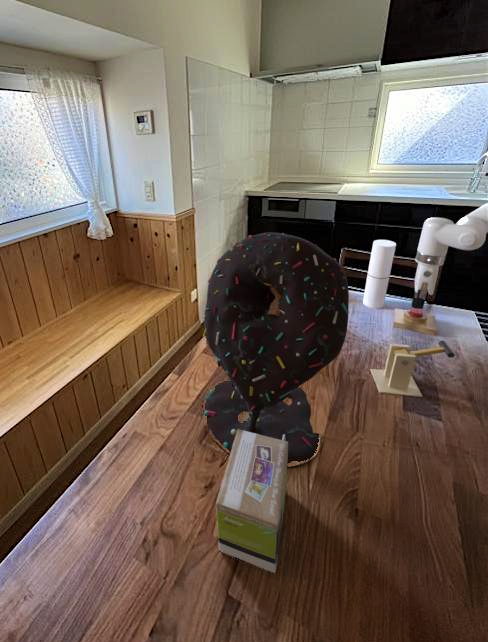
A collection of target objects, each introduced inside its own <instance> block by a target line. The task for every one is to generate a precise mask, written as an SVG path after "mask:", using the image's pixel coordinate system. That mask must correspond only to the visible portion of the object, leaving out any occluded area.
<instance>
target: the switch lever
mask: <svg viewBox="0 0 488 642" xmlns="http://www.w3.org/2000/svg"><path fill="white" fill-rule="evenodd" d="M438 345H439V346H437V347H430V348H425V349H424V348H423V349H418V350H417V349H416V350H410V351H409V352H407V351H406V349H401V350H394V355H395V354H396V353H398V354H411V355H415V356H416V358H417V357H423V356H428V355H435V354H442V353H445V355H446V356H447V357H448V358H454V357H455V353H454V351H452V349H451V348H450V347H449V345H448V344H447V342H445V340H440V341H438Z"/></svg>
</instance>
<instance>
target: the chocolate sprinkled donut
mask: <svg viewBox="0 0 488 642" xmlns="http://www.w3.org/2000/svg"><path fill="white" fill-rule="evenodd" d="M349 291H350V290H349V283H348V278H347V275H346V272H345V271H344V269H343V267H342V265H341V264H340V263H339V262H338V261H337V258H335V257H334V258H333V257H331V256H330V255H329V254H328V253H326V251H324V250H323V249H321V248H320V247H319V246H318V245H317V244H316V243H313V242H311V241H309V240H307V239H305V238H302V237H299V236H295V235H291V234H288V233H284V232H282V233H281V232H263V233H259V234H255V235H252V234H249V235H248V236H247V237H245V238H243V239H241V240H240V241H238V242H237V241H236V242H235V244H234V245H232V246H229V248H228V250H226V251H225V252H223V254H222V255H221V256H220V257H219V258H218V259H217V261H216V264H215V266H214V268H213V270H212V272H211V275H210V278H208V280H207V291H206V303H205V308H204V313H203V314H204V315H203V316H202V317H203V322H204V331H203V333H202V337H203V338H205V344H206V345H207V346H208V347H209V349H210V351H211V354H213V355H214V359H215V360H217V366H218V367H221V368H222V370H223V371H224V373H225V374H226V376H227V378H228V379H230V380H231V381H224V382H222V383H219V384H218V385H216V386H215V390H214V391H213V390H212V389H211V390H210V392H211V393H210V394H208V395H207V396H206V397H205V398H206V403H205V410H203V414H204V415H205V416H207V424H208V426H209V429H211V431H212V433H213V435H214V436H215V438H216V439H217V440H219V442H220V443H221V444H222V445H224V447H225V448H227V449H228V450H229V451H230V452H231V450H232V446H233V443H234V440H235V437H236V433H237V430H238V429H240V430H244V431H247V432H251V433H255V434H259V435H263V436H267V437H271V438H275V439H279V440H283V441H288V460H287V464H288V463H290V462H292V461H298V462H300V461H304V460H305V461H306V460H307V459H310V458H311V457H312V456H313V455H314V453H316V452H315V451H317V450H316V449H317V447H318V444H317V443H318V442H319V439H318V438H319V434H320V433H317V432H314V429H313V425H312V424H311V411H312V409H311V405H310V402H309V400H308V398H307V393H306V392H305V390H303V388H301V386H302V385H303V384H305V383H307V382H308V381H310V380H312V379H313V378H314V377H315V376H316V375H317V374H318V373H319V372H321V371H322V369H324V368H325V367H327V366H328V365H330V363H332V362H333V361H334V360H335V359H336V358H337V357H338V356H339V355H340V353H341V351H342V348H343V346H344V344H345V341H346V337H347V333H348V325H349V314H350V311H349V307H350V306H349V303H350V299H349V296H350V293H349ZM273 302H275V303H274V314H273V313H269V311H270V309H271V305H272V304H273ZM286 399H290V400H291V403H290V404H288V403H286V402H285V401H284V400H286ZM243 411H245V412H246V411H247V412H249V416H250V417H249V418H248V419H247V420H246V419H245V418H244V417H243V419H244V420H245V421H243V423H240V422H239V421H238V415H239V414H240V413H241V412H243Z"/></svg>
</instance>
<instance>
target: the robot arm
mask: <svg viewBox="0 0 488 642" xmlns="http://www.w3.org/2000/svg"><path fill="white" fill-rule="evenodd" d="M487 233H488V202H487V203H485V204H483V205H481V206H480V207H478V208H476V209H475V210H473V211H471V212H469V213H468V214H466V215H465V216H464V217H462V218H460V219H459V220H458V221H457V222H456V223H454V221H453V220H452V219H448V218H445V217H430V218H427V219H426V220H424V222H423V225H422V230H421V233H420V238H419V242H418V246H417V250H416V254H415V257H414V261H415V262H416V263H417V267H416V271H415V276H414V295H413V298H412V301H411V309H412V308H417V309H420V310H423V309H424V306H425V302H426V298H427V294H428V295H430V296H433V295H434V293H435V287H436V283H437V281H438V280H437V279H438V274H439V271H440V270H439V269H440V267H441V266H443V265H444V263H445V260H446V256H447V253H448V249H449V247H450V248H454V249H457V250H463V251H474V250H478V249H479V248H481V247H482V246H483V245H484V244H485V242H486V240H487V239H486V237H487Z"/></svg>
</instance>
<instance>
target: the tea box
mask: <svg viewBox="0 0 488 642" xmlns="http://www.w3.org/2000/svg"><path fill="white" fill-rule="evenodd" d="M287 460H288V441H283V440H279V439H275V438H271V437H267V436H263V435H259V434H255V433H251V432H247V431H244V430H240V429H238V430H237V433H236V437H235V440H234V443H233V446H232V450H231V453H230V455H229V457H228V461H227V464H226V467H225V471H224V475H223V478H222V481H221V484H220V488H219V491H218V493H217V495H218V496H217V498H216V501H215V513H216V526H217V539H218V551H219V550H220V551H221V552H223V553H225V554H228V555H231V556H234V557H237V558H239V559H242V560H244V561H247V562H249V563H251V564H254V565H256V566H259V567H261V568H264V569H267V570H269V571H271V572H274V573H275V572H277V566H278V565H277V564H278V558H279V550H280V543H281V536H282V527H283V519H284V513H285V504H286V503H285V502H286V493H287V492H286V491H287V478H288V477H287V476H288V474H287V473H288V467H287ZM221 552H220V553H221ZM223 553H222V554H223ZM225 554H224V555H225ZM275 574H276V573H275Z"/></svg>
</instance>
